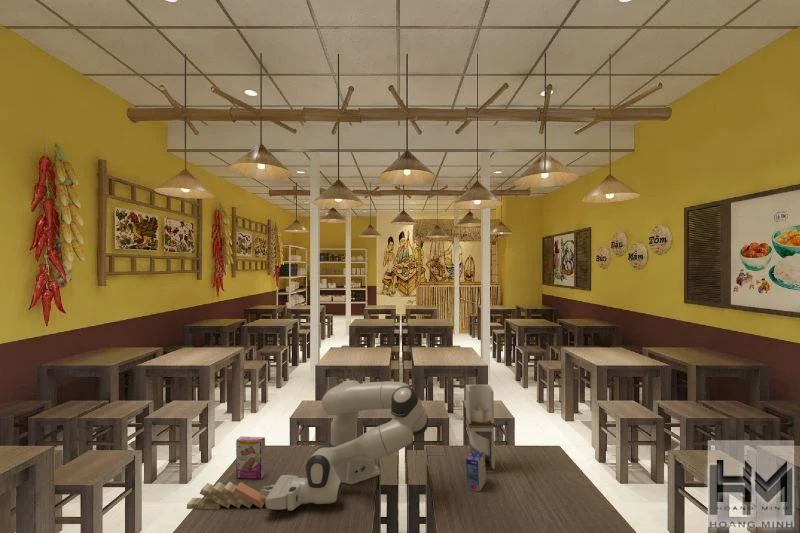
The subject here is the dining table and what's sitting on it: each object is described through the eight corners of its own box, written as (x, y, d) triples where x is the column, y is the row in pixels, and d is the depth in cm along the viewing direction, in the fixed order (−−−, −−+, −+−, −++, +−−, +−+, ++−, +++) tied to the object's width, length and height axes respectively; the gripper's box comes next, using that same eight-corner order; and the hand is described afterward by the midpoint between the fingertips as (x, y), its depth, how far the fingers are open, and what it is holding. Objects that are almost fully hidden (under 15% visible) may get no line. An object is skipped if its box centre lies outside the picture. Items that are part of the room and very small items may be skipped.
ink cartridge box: (473, 479, 198) (472, 444, 198) (486, 481, 196) (485, 446, 196) (466, 489, 189) (465, 452, 189) (479, 492, 187) (479, 454, 187)
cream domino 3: (246, 497, 181) (218, 481, 182) (241, 503, 176) (213, 487, 177) (243, 501, 181) (216, 486, 182) (238, 508, 176) (210, 492, 177)
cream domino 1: (224, 497, 181) (192, 497, 182) (219, 504, 176) (186, 504, 177) (224, 502, 181) (192, 503, 182) (219, 509, 176) (186, 509, 177)
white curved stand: (466, 462, 215) (465, 384, 215) (490, 462, 215) (489, 384, 215) (469, 473, 204) (468, 391, 204) (494, 473, 203) (493, 391, 204)
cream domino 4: (256, 497, 181) (229, 481, 182) (252, 503, 176) (224, 487, 177) (254, 501, 181) (226, 486, 182) (249, 508, 176) (221, 492, 177)
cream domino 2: (235, 497, 181) (207, 482, 182) (230, 503, 176) (201, 488, 177) (233, 501, 181) (205, 487, 182) (228, 508, 176) (199, 493, 177)
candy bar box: (235, 479, 201) (235, 440, 201) (240, 473, 206) (240, 435, 206) (261, 479, 200) (260, 440, 200) (266, 474, 205) (265, 436, 205)
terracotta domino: (268, 497, 181) (240, 481, 181) (263, 503, 176) (235, 487, 176) (265, 501, 181) (238, 486, 181) (261, 508, 176) (233, 492, 176)
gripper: (304, 470, 188) (269, 470, 189) (290, 495, 168) (251, 494, 168) (304, 486, 188) (269, 486, 189) (290, 513, 168) (251, 512, 168)
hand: (261, 490), depth 178 cm, fingers closed
